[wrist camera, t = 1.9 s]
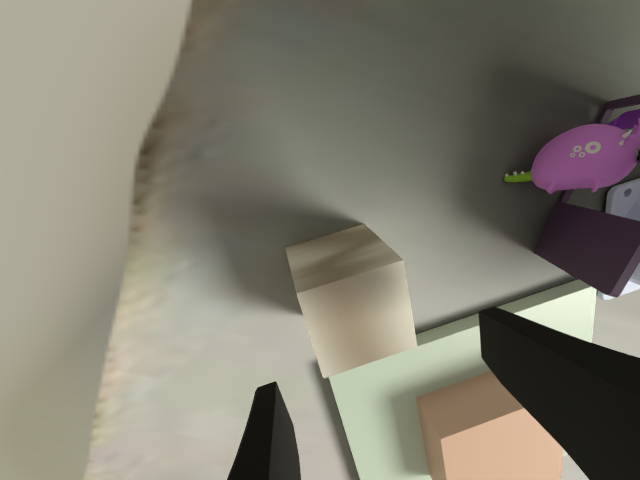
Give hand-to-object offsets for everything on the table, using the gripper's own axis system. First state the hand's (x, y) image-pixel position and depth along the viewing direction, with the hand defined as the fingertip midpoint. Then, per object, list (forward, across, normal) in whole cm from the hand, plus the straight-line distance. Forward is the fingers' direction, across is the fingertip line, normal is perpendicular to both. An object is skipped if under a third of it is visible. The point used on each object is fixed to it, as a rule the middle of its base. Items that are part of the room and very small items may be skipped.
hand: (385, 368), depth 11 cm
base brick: (+7, -7, +14) cm, 17 cm away
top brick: (+8, 0, 0) cm, 8 cm away
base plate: (+8, -7, +14) cm, 17 cm away
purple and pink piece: (+8, -13, -2) cm, 15 cm away
